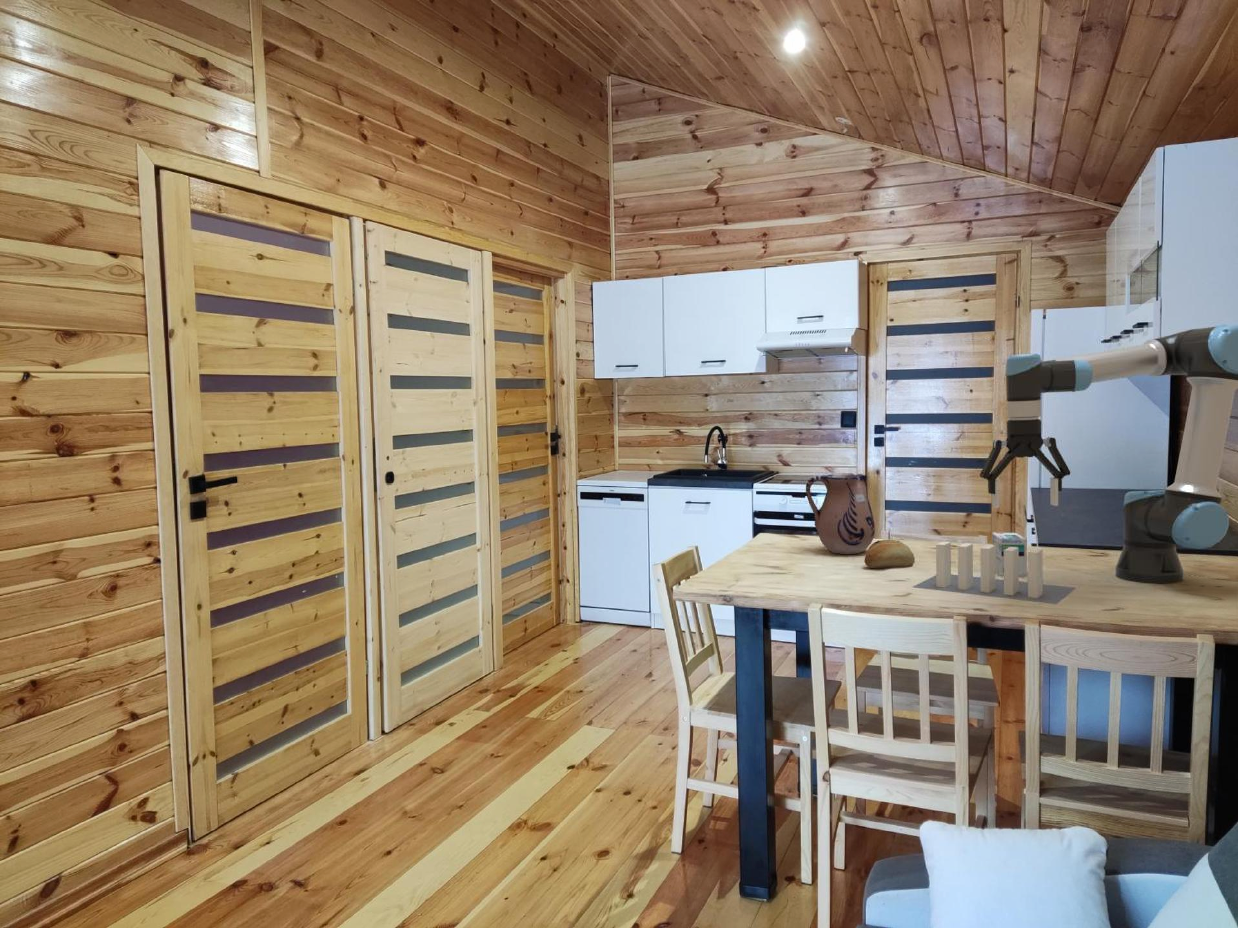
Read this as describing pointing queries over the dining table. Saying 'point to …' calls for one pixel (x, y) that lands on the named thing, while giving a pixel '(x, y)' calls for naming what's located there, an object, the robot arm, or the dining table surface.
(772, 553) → the dining table surface
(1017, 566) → the domino
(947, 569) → the domino
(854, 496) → the ceramic pitcher
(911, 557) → the bread roll
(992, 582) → the domino
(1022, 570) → the light bulb box
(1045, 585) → the mat
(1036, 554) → the domino
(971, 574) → the domino
